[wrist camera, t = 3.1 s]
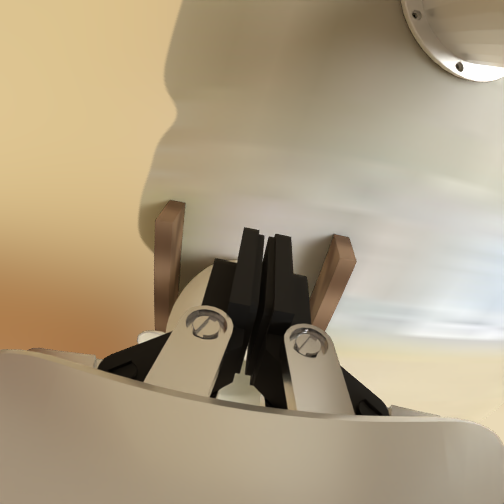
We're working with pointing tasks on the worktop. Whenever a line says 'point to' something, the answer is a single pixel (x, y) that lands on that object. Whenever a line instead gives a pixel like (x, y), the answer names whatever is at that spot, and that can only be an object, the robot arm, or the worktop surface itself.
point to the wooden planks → (169, 256)
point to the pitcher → (186, 300)
